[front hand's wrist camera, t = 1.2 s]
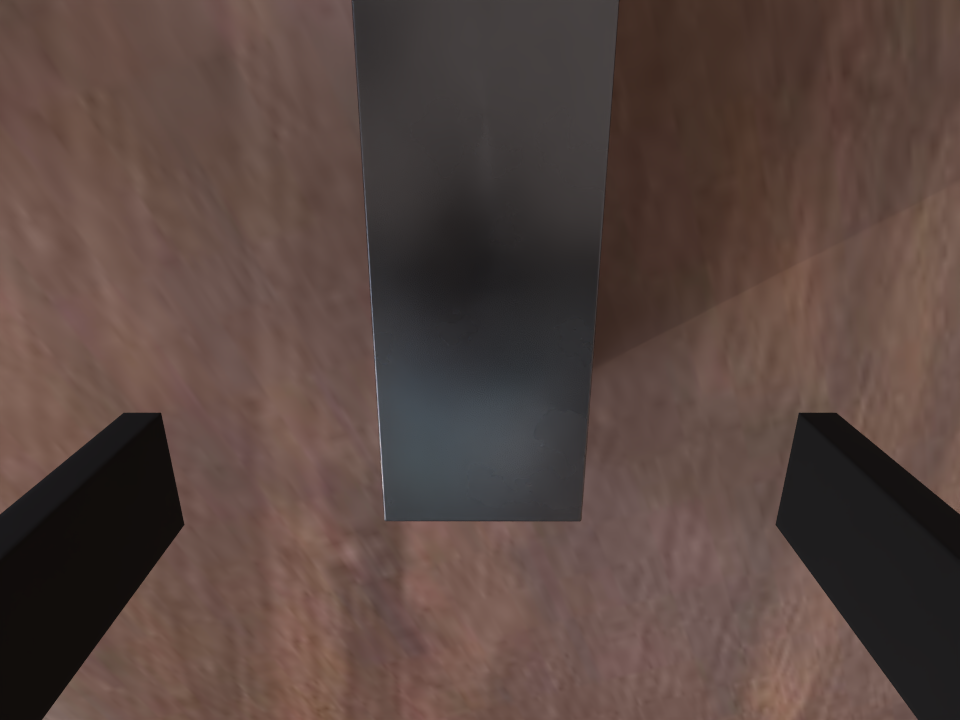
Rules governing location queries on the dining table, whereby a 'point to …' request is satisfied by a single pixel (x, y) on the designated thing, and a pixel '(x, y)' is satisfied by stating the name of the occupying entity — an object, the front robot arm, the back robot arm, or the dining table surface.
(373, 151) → the bar
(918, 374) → the dining table surface
